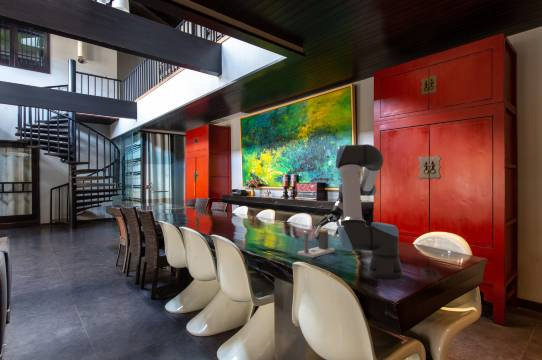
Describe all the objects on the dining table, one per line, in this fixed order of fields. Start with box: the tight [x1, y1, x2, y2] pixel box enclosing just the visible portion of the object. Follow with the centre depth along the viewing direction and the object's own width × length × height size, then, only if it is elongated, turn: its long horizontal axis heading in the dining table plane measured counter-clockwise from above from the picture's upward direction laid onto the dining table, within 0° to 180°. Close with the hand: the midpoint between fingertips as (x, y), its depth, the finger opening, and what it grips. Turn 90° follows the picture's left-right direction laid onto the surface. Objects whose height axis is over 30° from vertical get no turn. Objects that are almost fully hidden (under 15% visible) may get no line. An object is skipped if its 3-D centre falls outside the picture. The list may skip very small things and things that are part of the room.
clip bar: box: [292, 227, 310, 235], centre depth 176 cm, size 17×3×2 cm, turn 22°
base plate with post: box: [297, 234, 336, 259], centre depth 175 cm, size 21×11×13 cm, turn 132°
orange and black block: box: [318, 228, 329, 249], centre depth 180 cm, size 4×4×11 cm
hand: (324, 236), depth 181 cm, fingers open, 13 cm apart
